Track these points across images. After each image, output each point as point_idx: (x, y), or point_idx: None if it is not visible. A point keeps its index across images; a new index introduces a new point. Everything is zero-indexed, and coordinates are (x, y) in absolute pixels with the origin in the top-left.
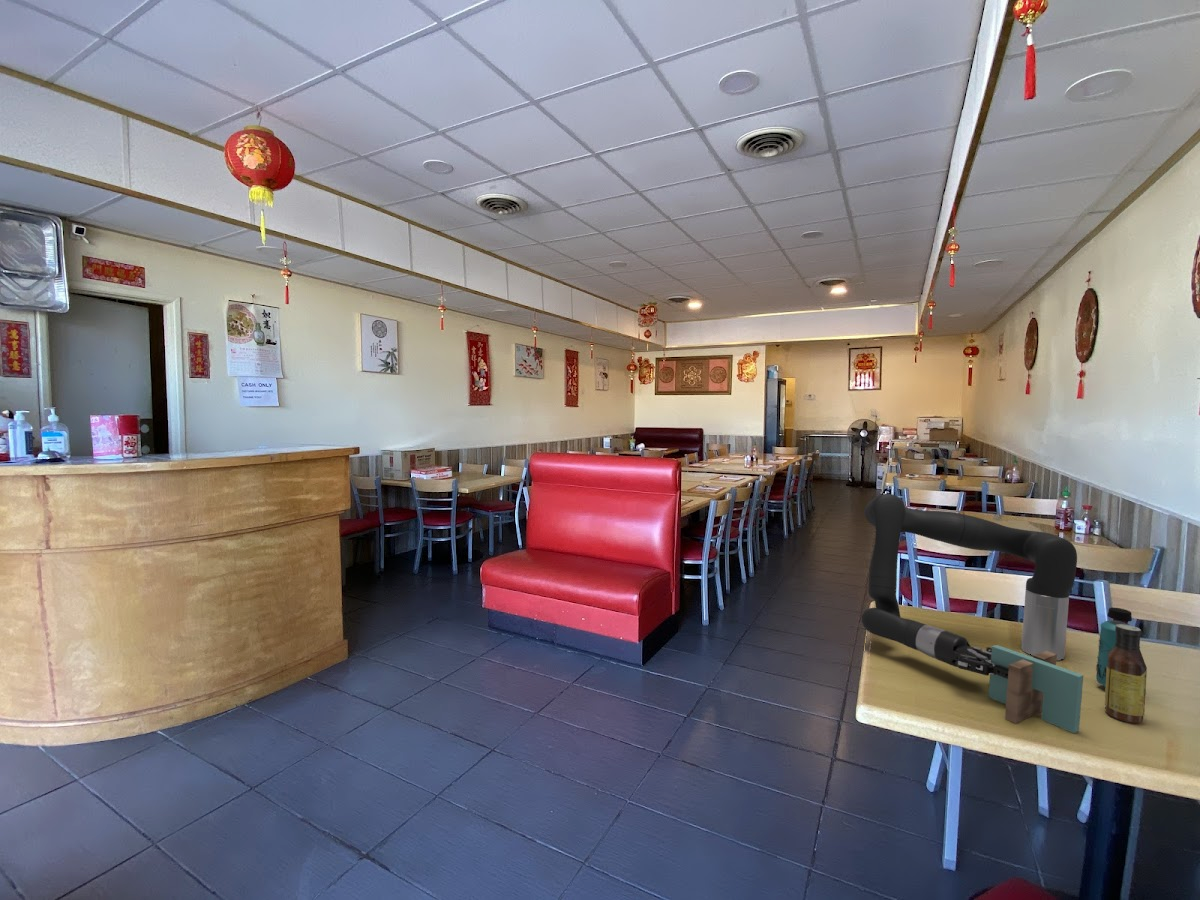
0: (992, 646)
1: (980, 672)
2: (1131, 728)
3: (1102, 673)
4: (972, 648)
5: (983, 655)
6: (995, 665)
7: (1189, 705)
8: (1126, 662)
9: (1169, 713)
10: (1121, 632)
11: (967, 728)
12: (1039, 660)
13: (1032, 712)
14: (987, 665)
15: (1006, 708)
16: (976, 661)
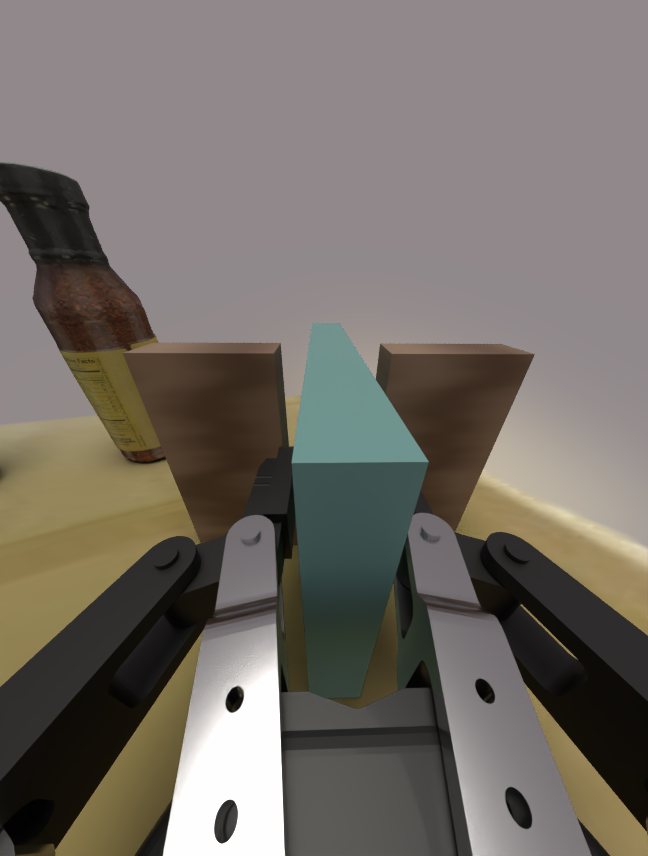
0: (422, 460)
1: (534, 622)
2: None
3: None
4: None
5: (336, 770)
6: (434, 517)
7: (3, 425)
8: (139, 305)
9: (77, 427)
10: (68, 195)
11: (645, 562)
12: (318, 344)
13: None
14: (517, 539)
15: (459, 515)
16: (624, 643)
